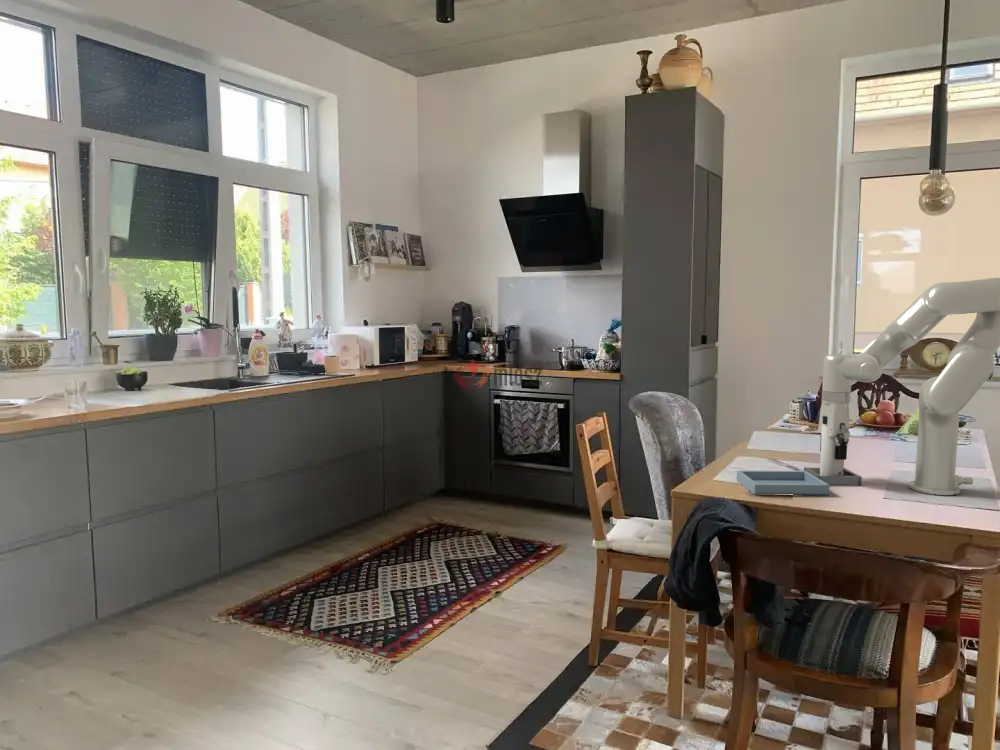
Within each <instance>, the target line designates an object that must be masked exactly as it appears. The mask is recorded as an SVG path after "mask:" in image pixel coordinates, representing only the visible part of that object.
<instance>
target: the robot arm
mask: <svg viewBox="0 0 1000 750" xmlns="http://www.w3.org/2000/svg"><path fill="white" fill-rule="evenodd" d="M966 314H967V315H968V314H976V317H975V318H974V321H973V322H972V324H971V325H970V327H969V328H968V329H967V331H966V332H965V334H964V335H963V336H962V337H961V339H960V340H959V341H958V343H957V344H956V345H954V347H953V349H952V350H951V351H950V352H949V353H948V355H947V357H946V365H945V367H944V368H943V369H942V370H941V372H940V374H939V375H938V376H933V377H930V378H929V379H927V380H926V381H925V382H924V383H923V384H922V386H921V387H920V390H919V395H918V429H917V440H916V441H917V443H916V460H915V475H914V476H915V477H914V480H911V481H909V482H908V484H907V486H908V488H909V489H910V488H911V490H912V491H915V492H919V493H924V494H928V495H935V494H936V495H937V496H955V495H954V494H956V495H959V494H961V493H960V492H962V491H961V490H962V489H961V488H960V486H962V485H970V486H971V485H973V484H974V483H973V482H974V481H973V480H974V479H973V478H972V477H962V475H960V476H959V475H957V474H956V467H957V456H958V455H957V453H958V452H957V451H958V450H957V449H958V441H959V440H958V439H959V426H960V423H959V422H960V412H961V411H962V410H963V409H964V408H965V407H966V406H967V405H968V404H969V403H970V401H971V400H972V398H973V397H974V396H975V395H976V394H977V392H978V391H979V390H980V389H981V388H982V386H983V385H984V384H985V382H986V381H987V380H988V378H989V376H990V375H991V374H992V372H993V369H994V358H993V357H994V355H995V354H996V352H997V351H998V349H999V348H1000V277H988V278H982V279H974V280H966V281H965V280H964V281H951V282H939V283H934V284H933V285H931V286H929V287H928V288H927V289H925V290H924V292H923V293H921V295H919V296H918V297H917V298H916V299H915V300H914V301H912V303H911V304H910V305H909V306H908V307H907V308H906V309H904V311H902V313H900V315H899V316H897V317H896V318H895V319H894V320H893V321H892V322H891V323H890V324H889V325H888V326H887V327H886V328H885V329H884V330H883V331H882V332H881V333H880V334H879V335H878V336H877V337H875V338H874V339H873V340H872V341H871V342H870V343H869V344H868V345H867V346H866V347H865V348H864V349H862V351H861V352H860V353H859V354H858V355H857V356H850V355H849V354H836V353H835V354H833V353H832V354H827V355H825V357H824V359H823V369H822V370H823V371H822V372H823V373H822V388H821V389H822V390H821V405H820V410H819V420H818V430H817V431H818V432H819V433H820V435H819V437H820V439H821V438H822V426H823V425H822V423H823V416H824V417H825V416H827V418H828V419H827V436H828V437H830V438H833V437H835V441H836V444H837V445H835V455H834V458H835V459H836V460H844V461H845V460H847V459H848V458H847V457H848V456H847V453H848V446H849V440H850V435H851V433H850V429H849V428H850V408H849V405H850V404H851V395H852V381H855V382H862V383H873V382H875V381H877V380H878V379H879V378H881V376H882V374H883V373H884V368H885V367H886V366H887V365H888V364H889V363H890V362H891V361H893V359H895V358H896V357H897V356H898V355H899V354H901V353H902V352H904V351H905V350H907V349H909V348H911V347H913V346H915V345H917V343H918V342H920V341H921V340H922V339H924V337H925V336H927V335H928V334H929V333H930V332H931V331H932V330H933V329H934V328H935V327H936V326H938V324H939V323H941V322H942V321H943V320H944V319H945V318H946V317H948V315H950V316H952V315H966ZM837 434H840V435H837ZM839 439H841V440H840V441H839ZM819 447H820V448H819V451H820V453H821V442H820V444H819Z"/></svg>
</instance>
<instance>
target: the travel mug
mask: <svg viewBox="0 0 1000 750" xmlns="http://www.w3.org/2000/svg"><path fill="white" fill-rule="evenodd" d="M827 419H828V418H827V416H825V417H824V416H823V423H822V425H823V426H822V438H820V443H821V452H820V461H819V462H820V463H819V468H820V475H821V476H843V470H844V468H845V466H844V465H845V460H836V459H835V458H834V455H835V445H837V444H836V441H835V437H833V438H830V437H828V436H827ZM837 435H840V434H837ZM840 440H841V439H839V441H840Z"/></svg>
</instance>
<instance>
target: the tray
mask: <svg viewBox="0 0 1000 750" xmlns="http://www.w3.org/2000/svg"><path fill="white" fill-rule="evenodd" d="M736 480H737V481H738V482H737V481H736V482H737V483H739V484H740V483H741V484H742V485H743V486H744V487H743V486H742V485H741V484H740V485H741V486H742V487H743V488H745V487H746V488H747V489H748V490H750V491H751V492H752V493H753V494H755V495H756V494H793V495H802V496H801V497H830V487H831V485H829V484H827V483H825V482H824V481H822V480H820V479H819V478H817V477H815V476H813V475H812V474H810V473H808V472H807V471H804V470H736ZM746 488H745V489H746ZM747 489H746V490H747ZM748 490H747V491H748ZM750 491H749V492H750ZM751 492H750V493H751ZM752 493H751V494H752ZM753 494H752V495H753Z"/></svg>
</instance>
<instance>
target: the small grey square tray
mask: <svg viewBox="0 0 1000 750" xmlns="http://www.w3.org/2000/svg"><path fill="white" fill-rule="evenodd" d="M803 471H807V472H808V473H810V474H812V475H813V476H815V477H817V478H819V479H820V480H822V481H824V482H825V483H827V484H829V485H830V486H862V480H863V479H862V476H861V475H859V474H857V473H855V472H853V471H851V470H850V469H848V468H846V467H844V470H843V476H821V475H820V467H803Z"/></svg>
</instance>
